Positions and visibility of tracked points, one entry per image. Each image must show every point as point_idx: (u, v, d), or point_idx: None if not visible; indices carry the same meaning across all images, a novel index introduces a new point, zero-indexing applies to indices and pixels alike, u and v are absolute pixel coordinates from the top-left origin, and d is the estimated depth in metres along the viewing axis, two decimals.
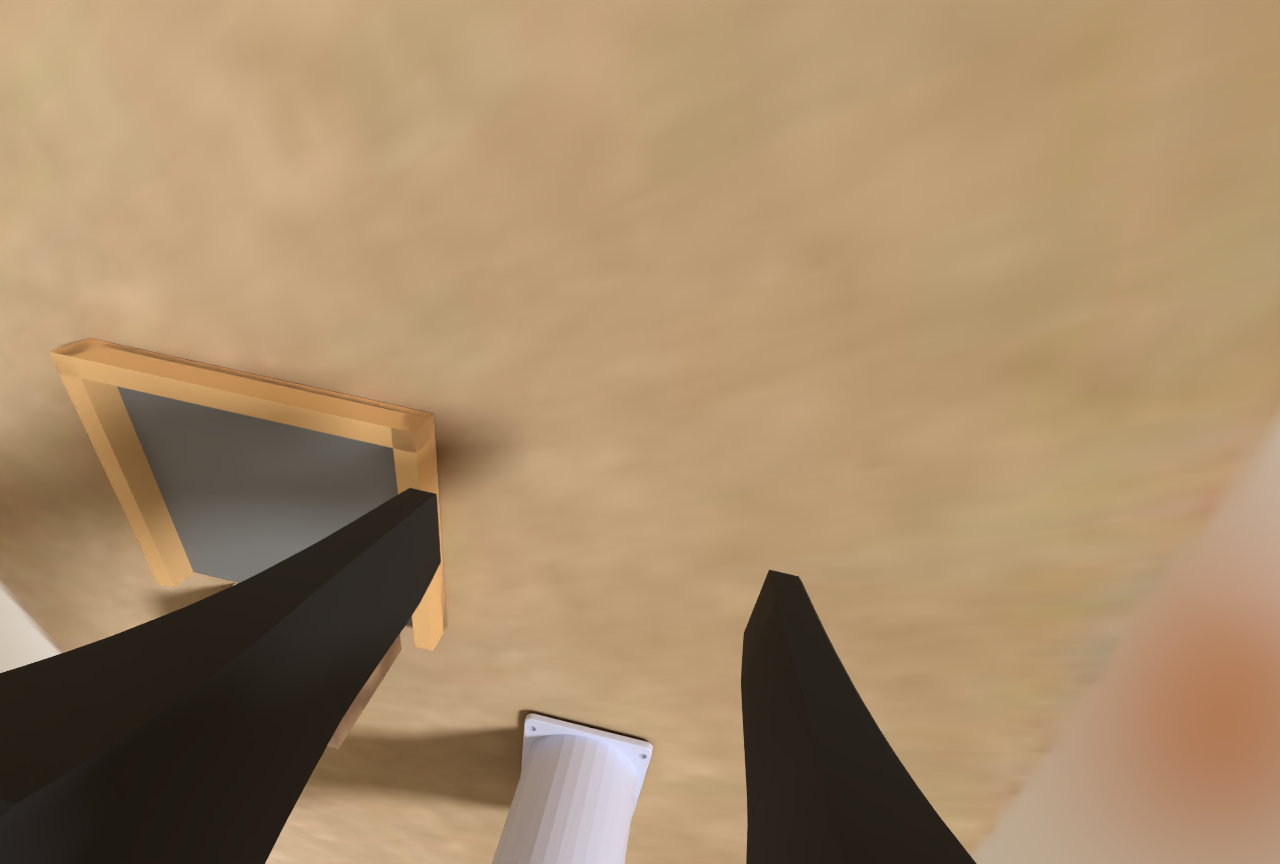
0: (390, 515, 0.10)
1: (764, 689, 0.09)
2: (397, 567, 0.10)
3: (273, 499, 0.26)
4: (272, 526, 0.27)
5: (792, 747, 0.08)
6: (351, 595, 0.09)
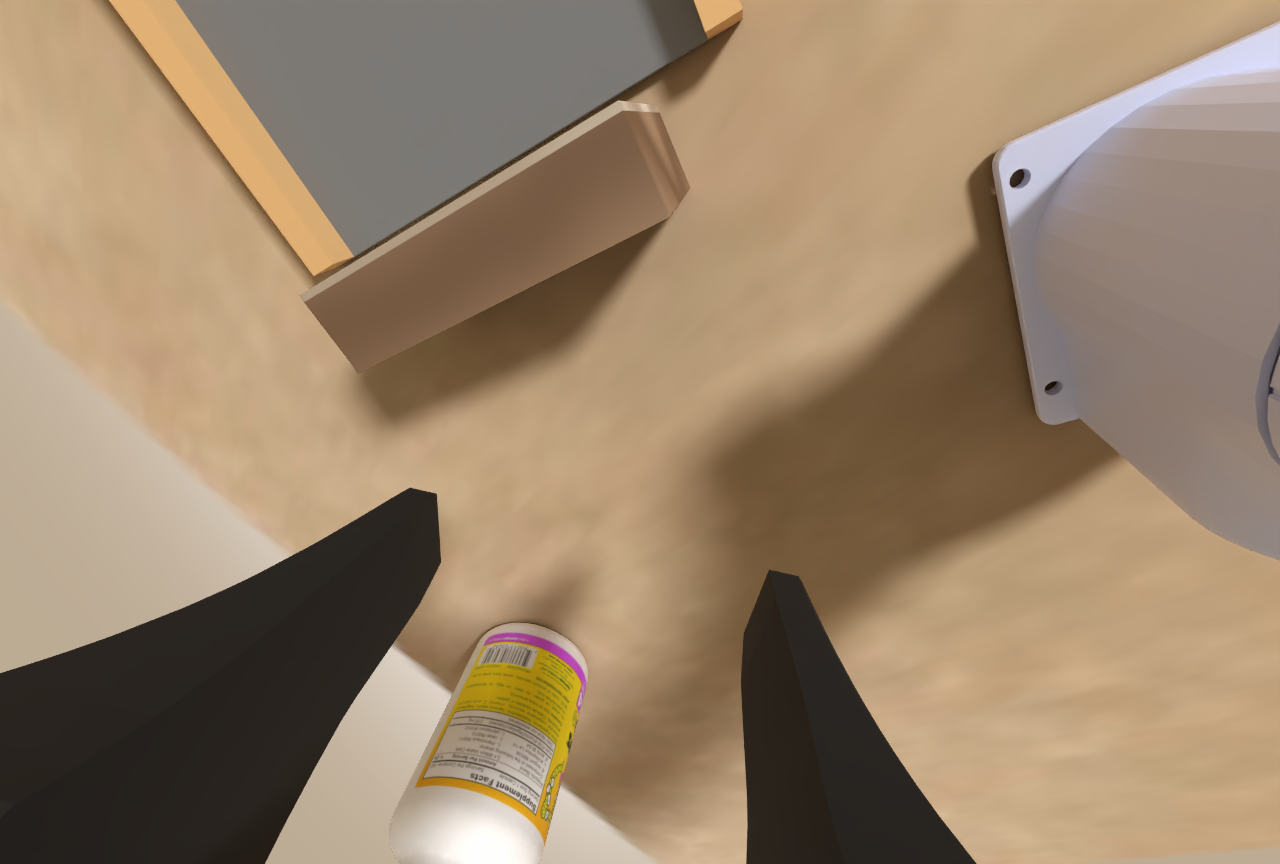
0: (390, 515, 0.10)
1: (764, 689, 0.09)
2: (397, 567, 0.10)
3: None
4: None
5: (792, 747, 0.08)
6: (351, 595, 0.09)
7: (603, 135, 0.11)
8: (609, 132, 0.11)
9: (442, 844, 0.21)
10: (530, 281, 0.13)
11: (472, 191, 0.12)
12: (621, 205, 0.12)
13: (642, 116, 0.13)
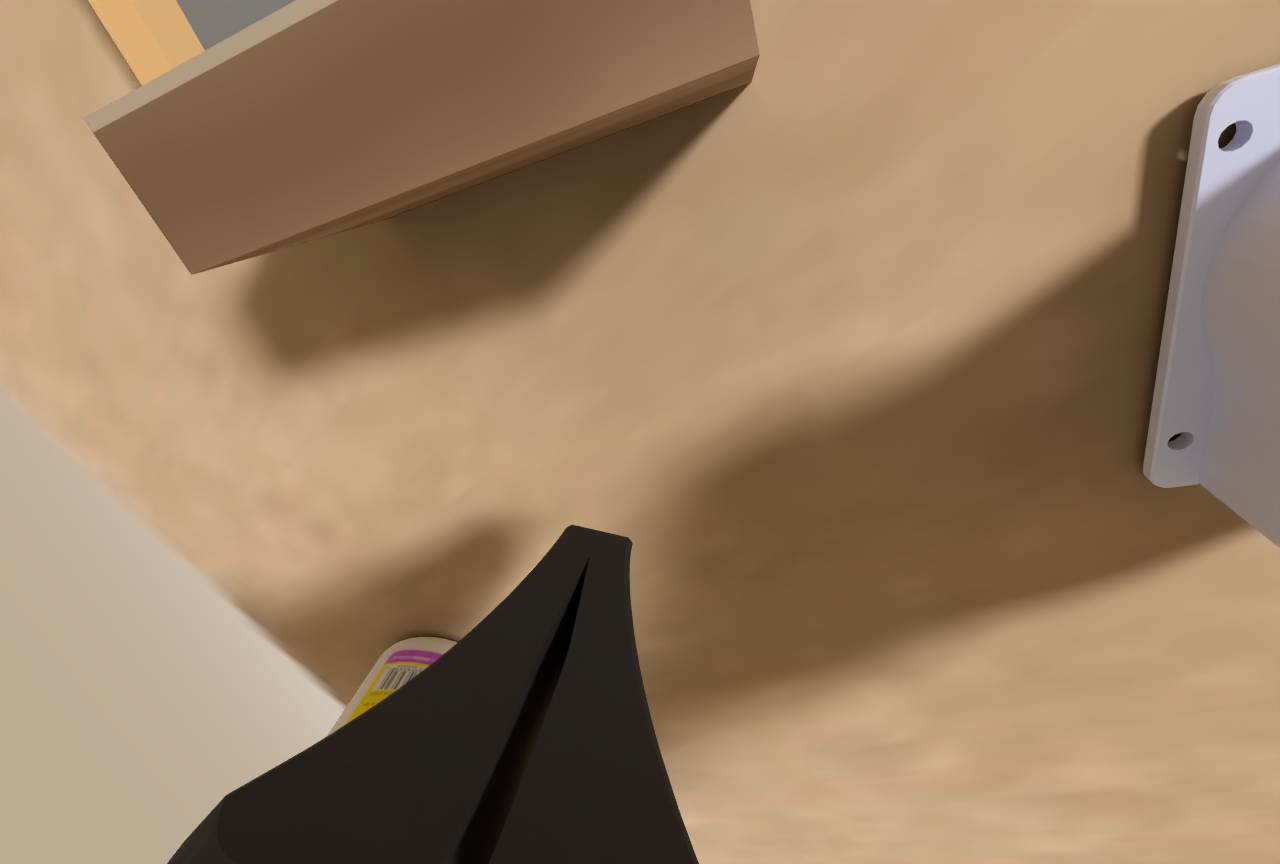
0: (571, 557, 0.10)
1: None
2: (575, 609, 0.10)
3: None
4: None
5: None
6: (553, 644, 0.09)
7: None
8: None
9: None
10: (491, 148, 0.08)
11: None
12: (676, 17, 0.06)
13: None
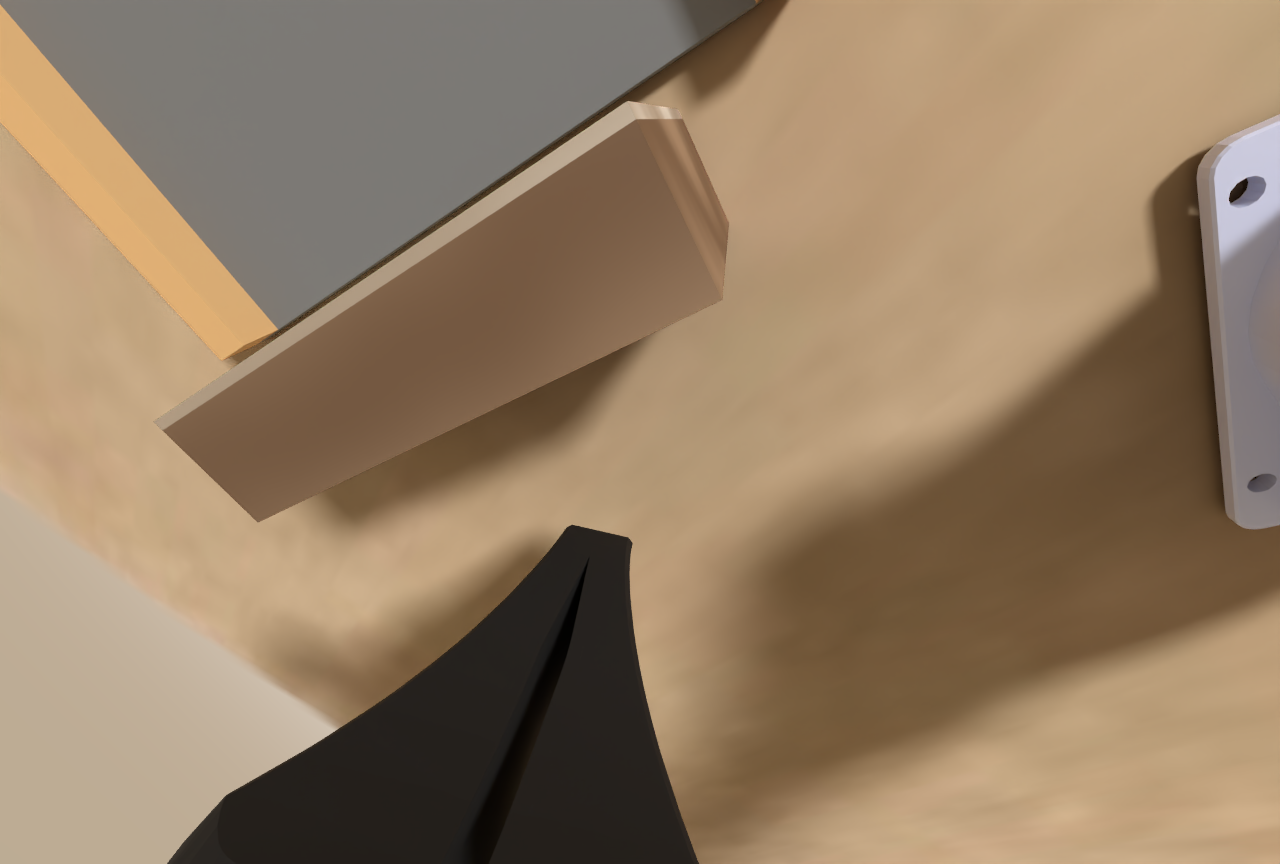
0: (571, 557, 0.10)
1: None
2: (575, 609, 0.10)
3: None
4: None
5: None
6: (553, 644, 0.09)
7: (602, 165, 0.06)
8: (613, 159, 0.06)
9: None
10: (494, 400, 0.08)
11: (387, 267, 0.07)
12: (639, 282, 0.07)
13: (664, 126, 0.08)
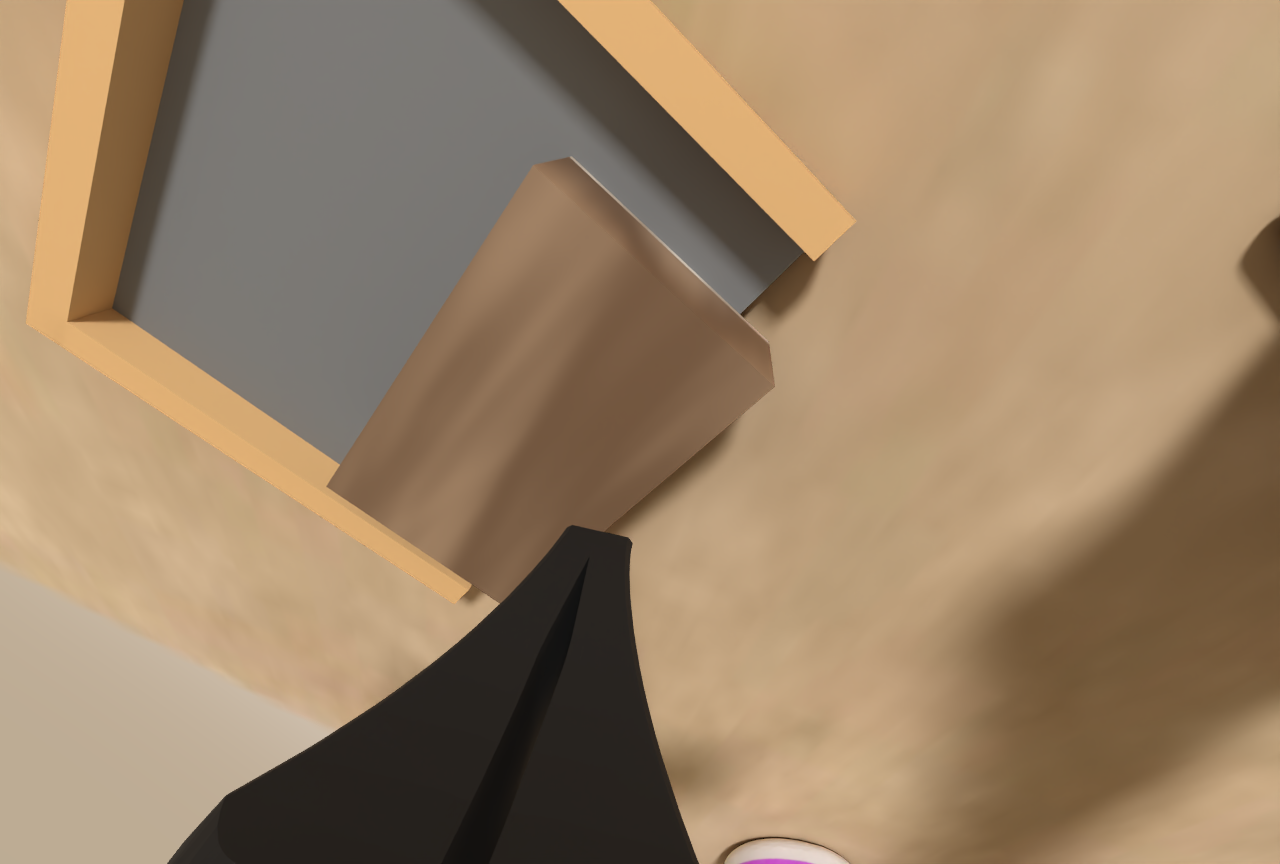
0: (571, 557, 0.10)
1: None
2: (575, 609, 0.10)
3: (378, 277, 0.13)
4: None
5: None
6: (553, 644, 0.09)
7: None
8: None
9: None
10: None
11: None
12: None
13: (650, 234, 0.12)
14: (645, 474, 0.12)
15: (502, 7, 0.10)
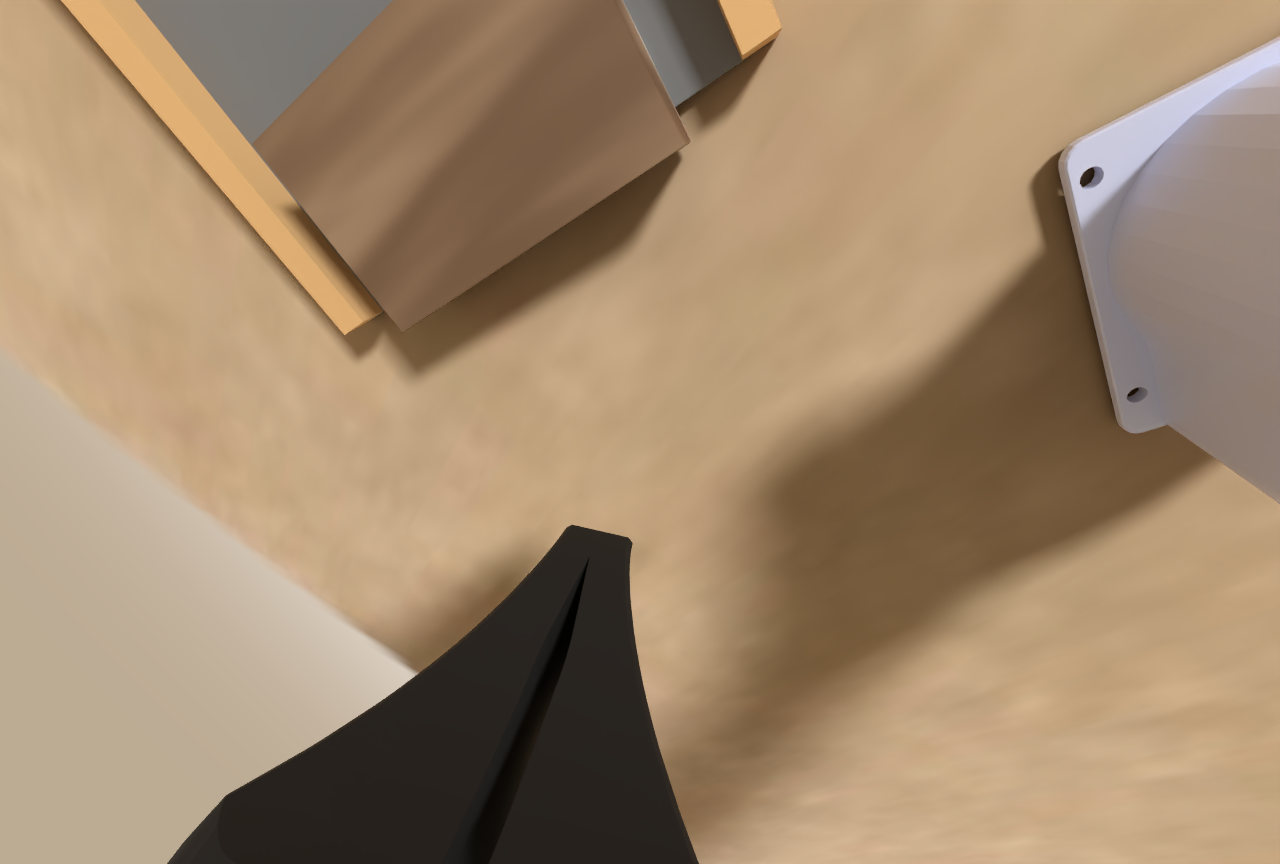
0: (571, 557, 0.10)
1: None
2: (575, 609, 0.10)
3: None
4: None
5: None
6: (554, 644, 0.09)
7: None
8: None
9: None
10: None
11: None
12: None
13: None
14: (559, 208, 0.14)
15: None
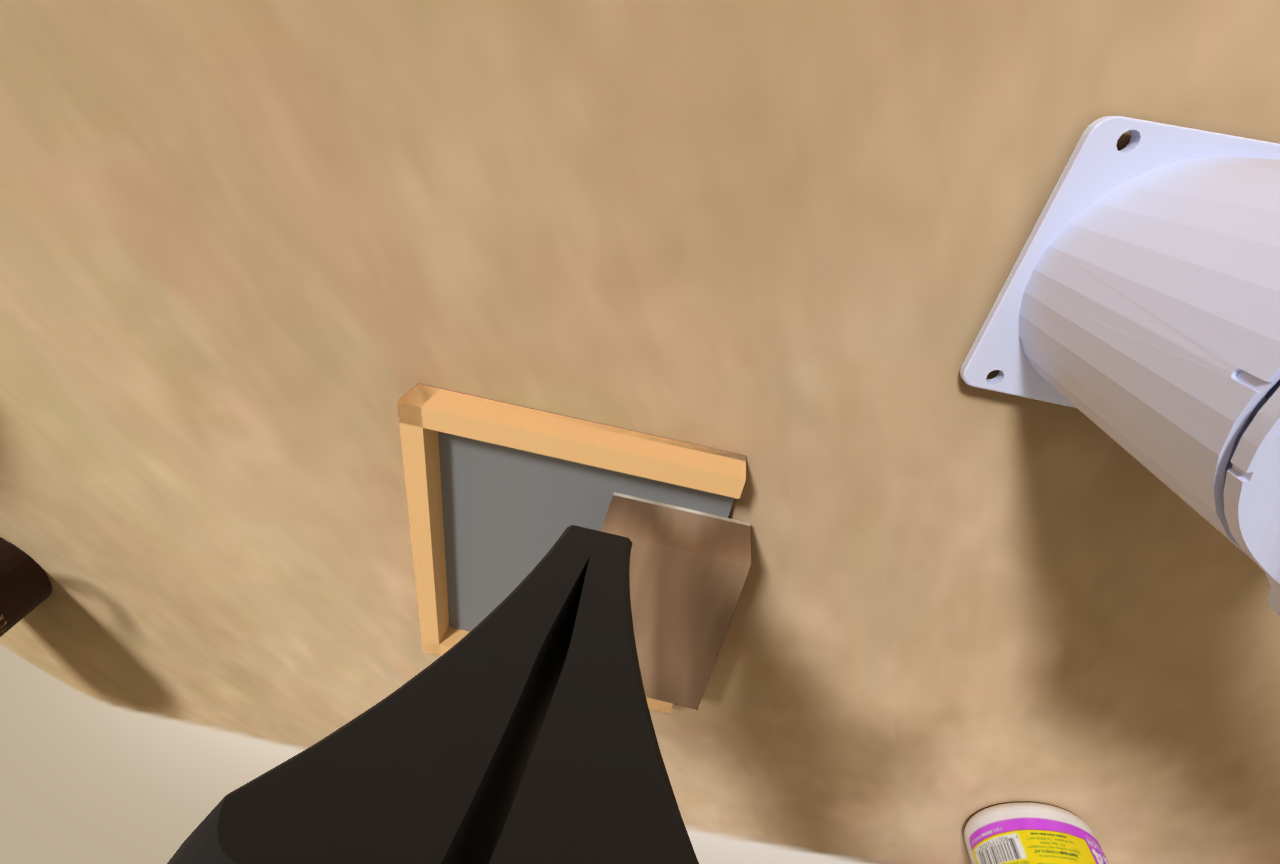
0: (571, 557, 0.10)
1: None
2: (575, 609, 0.10)
3: None
4: None
5: None
6: (553, 644, 0.09)
7: None
8: None
9: None
10: None
11: None
12: None
13: (664, 508, 0.23)
14: (719, 621, 0.22)
15: (559, 458, 0.23)
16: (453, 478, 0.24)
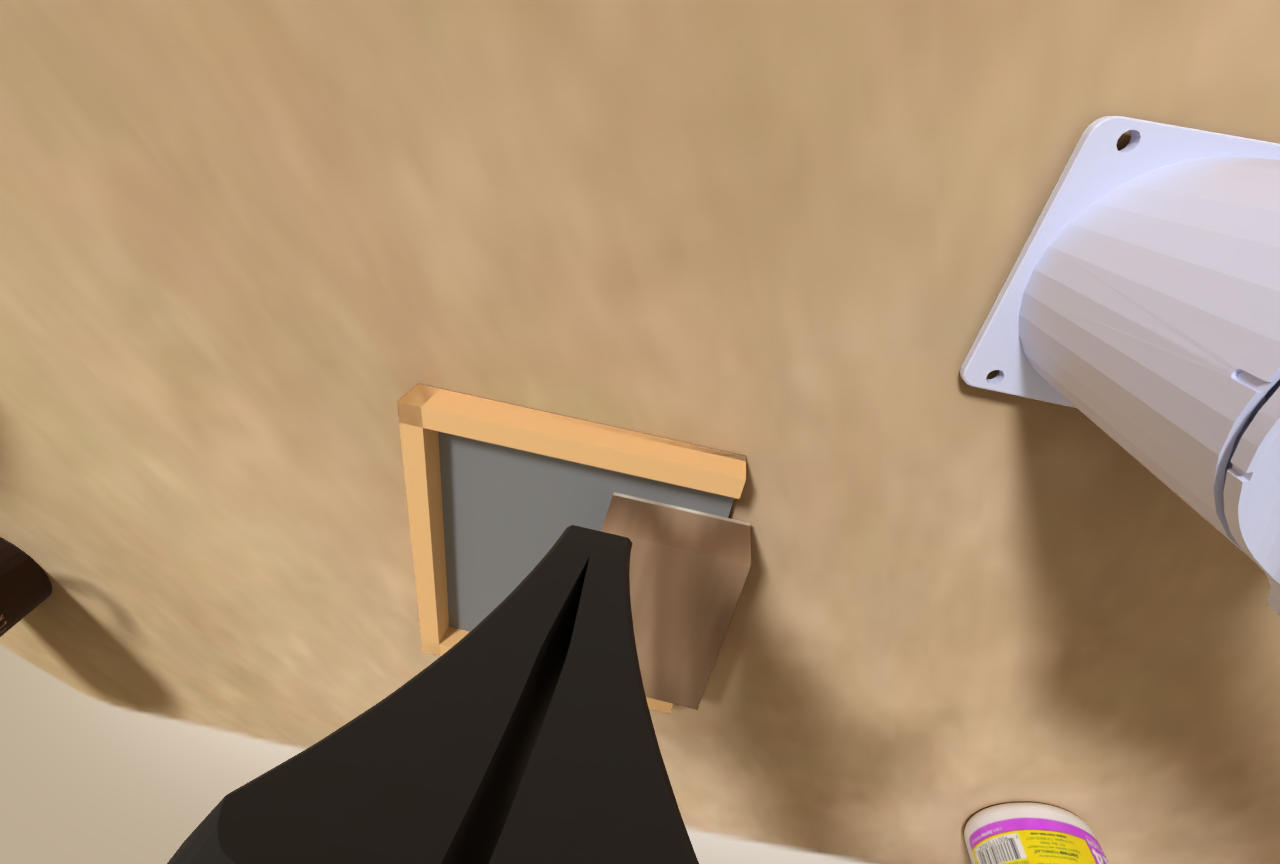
0: (571, 557, 0.10)
1: None
2: (575, 609, 0.10)
3: None
4: None
5: None
6: (553, 644, 0.09)
7: None
8: None
9: None
10: None
11: None
12: None
13: (664, 508, 0.23)
14: (719, 621, 0.22)
15: (559, 458, 0.23)
16: (453, 478, 0.24)
